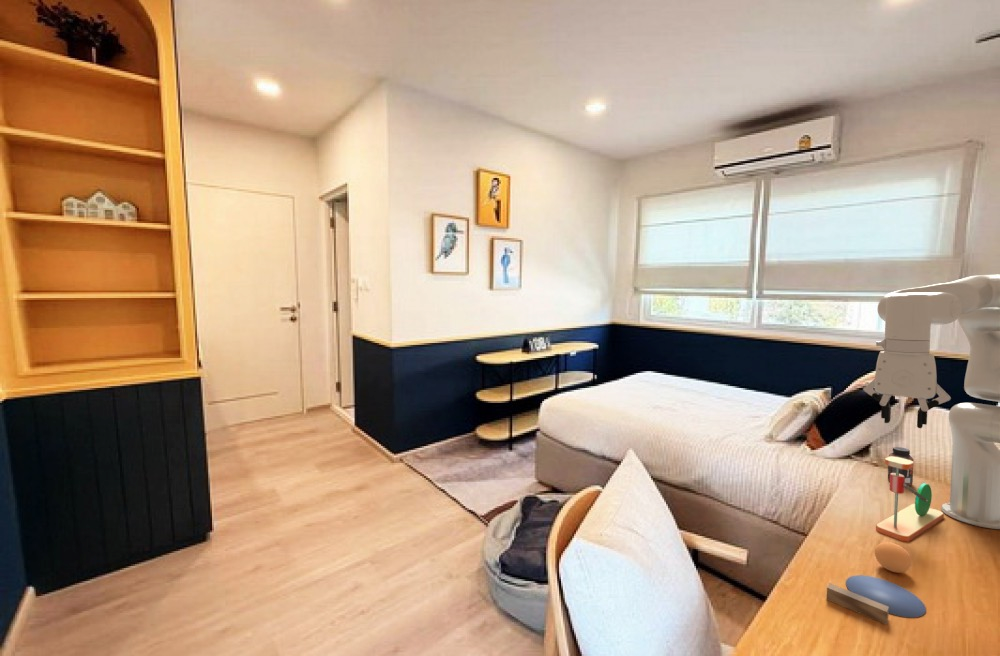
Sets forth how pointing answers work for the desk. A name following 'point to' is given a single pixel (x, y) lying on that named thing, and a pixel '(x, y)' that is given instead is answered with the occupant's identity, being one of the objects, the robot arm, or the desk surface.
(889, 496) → the desk surface
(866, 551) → the desk surface
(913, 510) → the crank mechanism
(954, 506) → the robot arm
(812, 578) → the desk surface
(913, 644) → the desk surface
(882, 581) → the mark
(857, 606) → the stopper strip
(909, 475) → the supplement bottle
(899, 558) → the ball
